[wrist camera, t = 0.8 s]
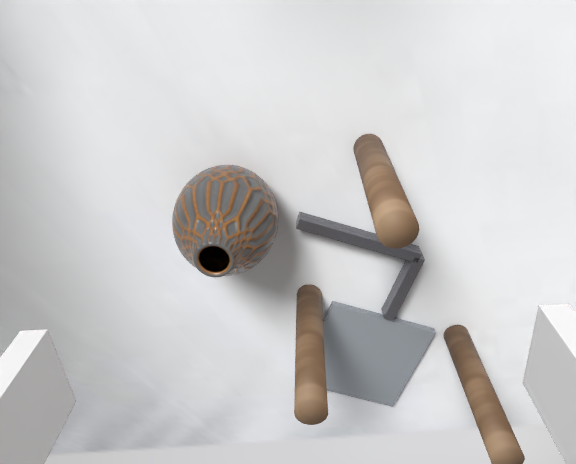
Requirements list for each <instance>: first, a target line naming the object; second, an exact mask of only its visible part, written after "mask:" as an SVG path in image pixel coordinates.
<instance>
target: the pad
mask: <svg viewBox="0 0 576 464" xmlns="http://www.w3.org/2000/svg"><path fill="white" fill-rule="evenodd" d="M323 332H324V350H325V368H326V386H327V390H328V391H332V392H336V393H340V394H345V395H349V396H353V397H357V398H361V399H365V400H369V401H373V402H377V403H381V404H385V405H389V406H393V405H394V404H395V402H396V400H397V399H398V397H399V395H400V393H401V392H402V390H403V388H404V387H405V385H406V383H407V381H408V380H409V378H410V376H411V375H412V373H413V371H414V369H415V368H416V366H417V364H418V363H419V361H420V359H421V357H422V356H423V354H424V352H425V351H426V349H427V347H428V345H429V344H430V342H431V340H432V339H433V337H434V335H435V330H434V328H430V327H427V326H423V325H419V324H415V323H412V322H408V321H404V320H401V319H397V318H394V320H393V321H392V320H388V319H384V317H383V315H382V314H378V313H375V312H371V311H367V310H364V309H360V308H356V307H352V306H349V305H345V304H341V303H338V302H334V301H332V303H331V305H330V308H329V310H328V312H327V315H326V317H325V319H324V322H323Z"/></svg>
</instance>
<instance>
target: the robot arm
mask: <svg viewBox="0 0 576 464" xmlns="http://www.w3.org/2000/svg"><path fill="white" fill-rule="evenodd" d="M523 384H524V386H525V388H526V390H527V392H528V394H529V396H530V397H531V399H532V401H533V403H534V405H535V407H536V409H537V411H538V413H539V414H540V416H541V418H542V420H543V422H544V424H545V426H546V428H547V429H548V431H549V433H550V435H551V437H552V439H553V441H554V443H555V444H556V446H557V448H558V450H559V452H560V454H561V456H562V458H563V459H564V461H565V463H566V464H576V312H575V311H574V309H573V308H572V307H571V306H570V304H554V305H539V306H538V311H537V316H536V320H535V325H534V330H533V335H532V340H531V345H530V350H529V355H528V360H527V364H526V369H525V374H524V379H523ZM75 402H76V400H75V397H74V395H73V392H72V390H71V387H70V385H69V382H68V379H67V377H66V374H65V372H64V369H63V367H62V364H61V362H60V359H59V357H58V354H57V352H56V349H55V347H54V344H53V342H52V339H51V337H50V334H49V332H48V329H47V330H27V331H20V332H19V333H18V335H17V336H16V337H15V339H14V340H13V341H12V343H11V344H10V345H9V347H8V348H7V349H6V351H5V352H4V353H3V354H2V356H1V357H0V464H44V463H45V461H46V459H47V457H48V455H49V453H50V451H51V449H52V447H53V445H54V443H55V441H56V439H57V437H58V436H59V434H60V432H61V430H62V428H63V426H64V424H65V422H66V420H67V418H68V416H69V414H70V412H71V410H72V408H73V406H74V404H75Z"/></svg>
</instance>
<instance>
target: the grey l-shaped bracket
mask: <svg viewBox="0 0 576 464" xmlns="http://www.w3.org/2000/svg"><path fill="white" fill-rule="evenodd" d="M296 229H300V230H303V231H307V232H310V233H314V234H317V235H321V236H324V237H328V238H331V239H335V240H338V241H342V242H345V243H349V244H352V245H356V246H359V247H363V248H366V249H370V250H373V251H377V252H380V253H384V254H387V255H391V256H394V257H398V258H401V259H405V260H406V261H405V263H404V265H403V267H402V269H401V271H400V273H399V275H398V277H397V279H396V281H395V283H394V285H393V287H392V289H391V291H390V293H389V295H388V297H387V299H386V301H385V303H384V305H383V307H382V313H383V317H384V319H388V320H392V321H393V320H394V318H395V316H396V314H397V312H398V310H399V308H400V306H401V305H402V303H403V301H404V299H405V297H406V295H407V293H408V291H409V289H410V287H411V285H412V283H413V281H414V280H415V278H416V276H417V274H418V272H419V270H420V268H421V266H422V264H423V262H424V257H423V255H422V253H421V251H420V249H419V246H416V245H413V244H409V245H408V246H406V247H403V248H389V247H386V246H385V245H383V244H382V243H381V242H380V241H379V239H378V237H377V234H375V233H371V232H368V231H364V230H361V229H357V228H354V227H350V226H347V225H343V224H340V223H337V222H333V221H330V220H326V219H323V218H319V217H316V216H312V215H309V214H305V213H302V212H300V213H299V215H298V218H297V222H296Z"/></svg>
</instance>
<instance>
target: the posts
mask: <svg viewBox="0 0 576 464" xmlns="http://www.w3.org/2000/svg"><path fill="white" fill-rule="evenodd" d="M354 154H355V157H356V161H357V165H358V168H359V172H360V176H361V179H362V183H363V186H364V190H365V194H366V197H367V201H368V205H369V208H370V212H371V216H372V219H373V223H374V227H375V230H376V234H377V237H378V239H379V241H380V242H381V243H382V244H383V245H385V246H386V247H389V248H403V247H406V246H408V245H409V244H411V243H412V242H413V241H414V240H415V239H416V237H417V235H418V232H419V224H418V221H417V219H416V217H415V215H414V213H413V210H412V208H411V206H410V204H409V201H408V199H407V197H406V195H405V192H404V190H403V188H402V186H401V184H400V181H399V179H398V177H397V175H396V172H395V170H394V168H393V166H392V163H391V161H390V159H389V157H388V155H387V152H386V150H385V148H384V146H383V143H382V141H381V140H380V138H379V137H377V136H376V135H373V134H365V135H363V136H361V137H359V138H358V139H357V140H356V142H355V144H354ZM444 339H445V341H446V344H447V347H448V349H449V352H450V355H451V357H452V360H453V363H454V365H455V368H456V370H457V373H458V376H459V378H460V381H461V384H462V386H463V389H464V392H465V394H466V397H467V399H468V402H469V405H470V407H471V410H472V413H473V415H474V418H475V421H476V423H477V426H478V428H479V431H480V434H481V436H482V439H483V442H484V444H485V447H486V450H487V452H488V455H489V457H490V460H491V463H492V464H523V462H524V459H525V458H524V455H523V453H522V450H521V448H520V446H519V444H518V442H517V439H516V437H515V435H514V433H513V431H512V428H511V426H510V424H509V421H508V419H507V417H506V415H505V413H504V410H503V408H502V406H501V404H500V401H499V399H498V397H497V395H496V393H495V390H494V388H493V386H492V384H491V382H490V379H489V377H488V375H487V373H486V370H485V368H484V366H483V364H482V362H481V359H480V357H479V355H478V353H477V351H476V348H475V346H474V344H473V342H472V339H471V337H470V335H469V333H468V331H467V329H466V328H465V327H464V326H461V325H453V326H451V327H449V328H447V329H446V331H445V332H444ZM294 414H295V417H296V418H297V420H298V421H300V422H302V423H304V424H308V425H314V424H319V423H321V422H323V421H324V420H325V419H326V418H327V416H328V404H327V386H326V368H325V350H324V332H323V314H322V296H321V291H320V289H319V288H318V287H316V286H314V285H304V286H302V287H301V288H299V290H298V291H297V309H296V359H295V409H294Z"/></svg>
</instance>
